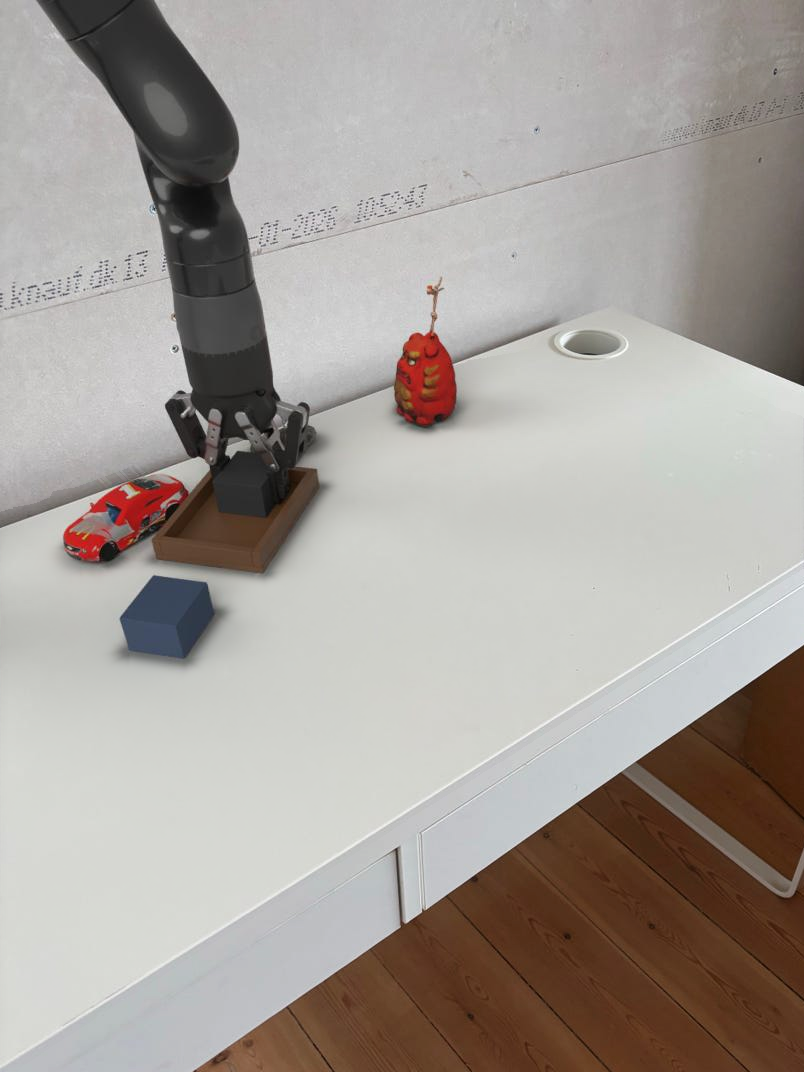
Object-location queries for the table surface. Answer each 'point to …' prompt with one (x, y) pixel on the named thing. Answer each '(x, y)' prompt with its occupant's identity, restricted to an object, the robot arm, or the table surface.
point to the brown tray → (232, 527)
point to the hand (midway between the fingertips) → (253, 495)
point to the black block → (244, 486)
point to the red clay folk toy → (425, 376)
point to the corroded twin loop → (309, 438)
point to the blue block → (167, 616)
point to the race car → (123, 517)
